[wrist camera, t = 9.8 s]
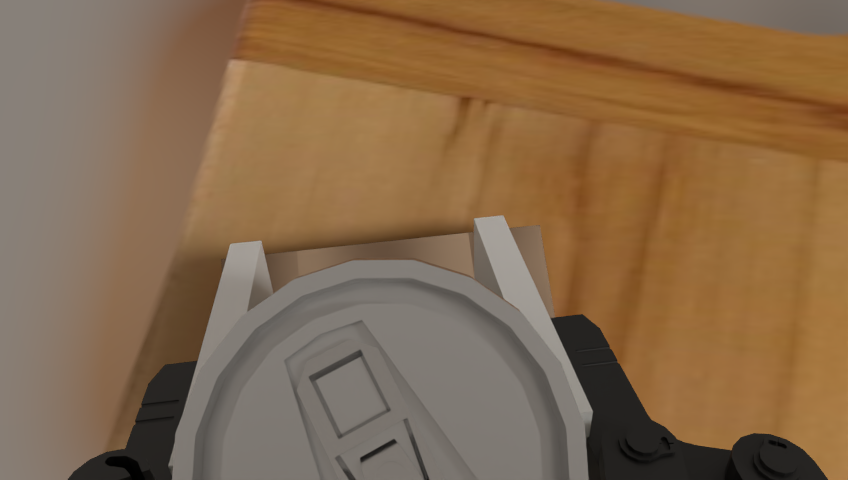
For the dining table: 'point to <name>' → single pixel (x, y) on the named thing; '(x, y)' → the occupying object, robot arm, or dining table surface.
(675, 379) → the dining table surface
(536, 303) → the robot arm
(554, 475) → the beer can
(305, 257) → the socket block
